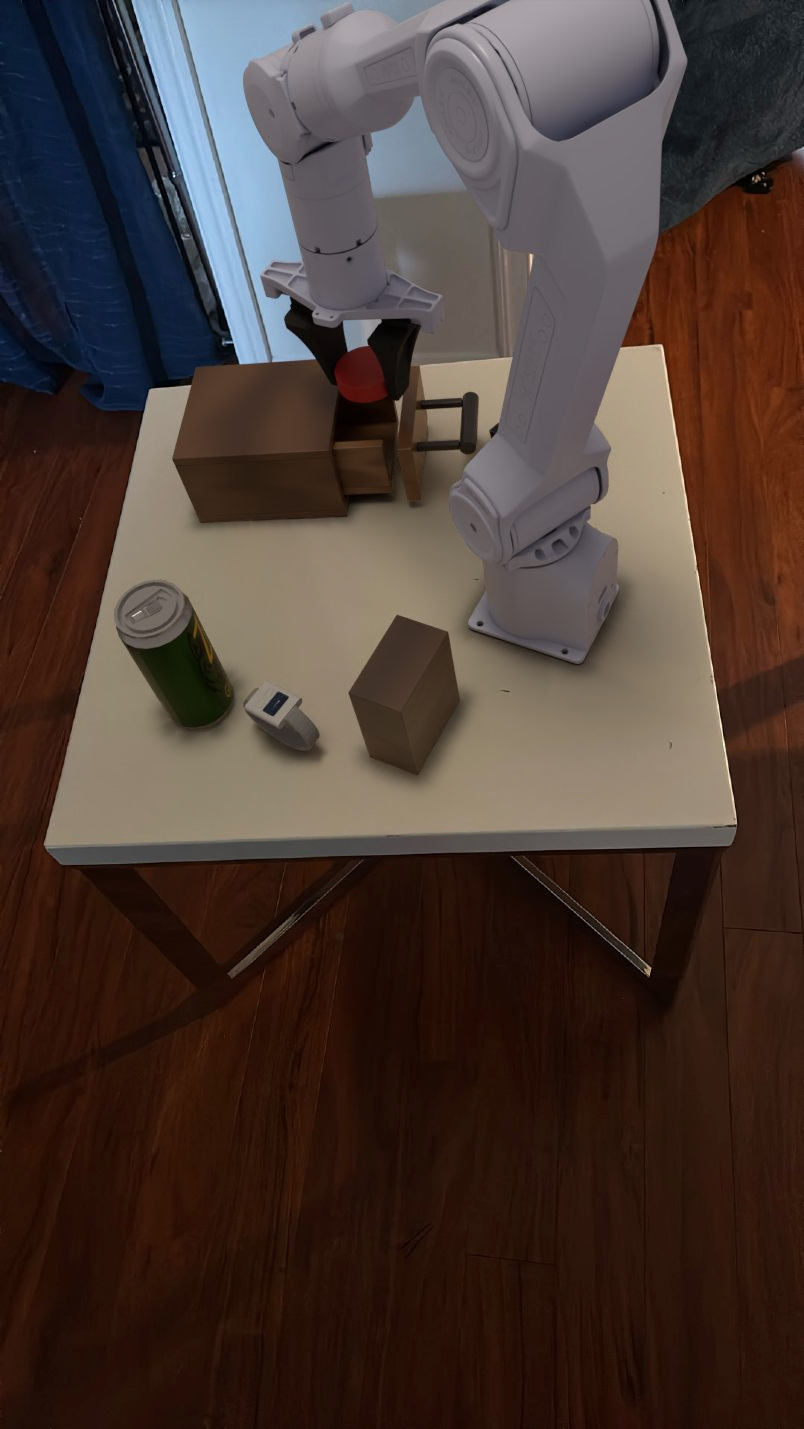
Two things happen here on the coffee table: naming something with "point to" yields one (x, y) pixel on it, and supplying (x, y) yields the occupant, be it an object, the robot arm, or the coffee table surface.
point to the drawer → (394, 439)
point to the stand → (406, 693)
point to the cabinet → (260, 443)
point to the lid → (360, 376)
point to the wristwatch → (281, 716)
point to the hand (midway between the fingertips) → (369, 384)
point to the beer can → (174, 653)
